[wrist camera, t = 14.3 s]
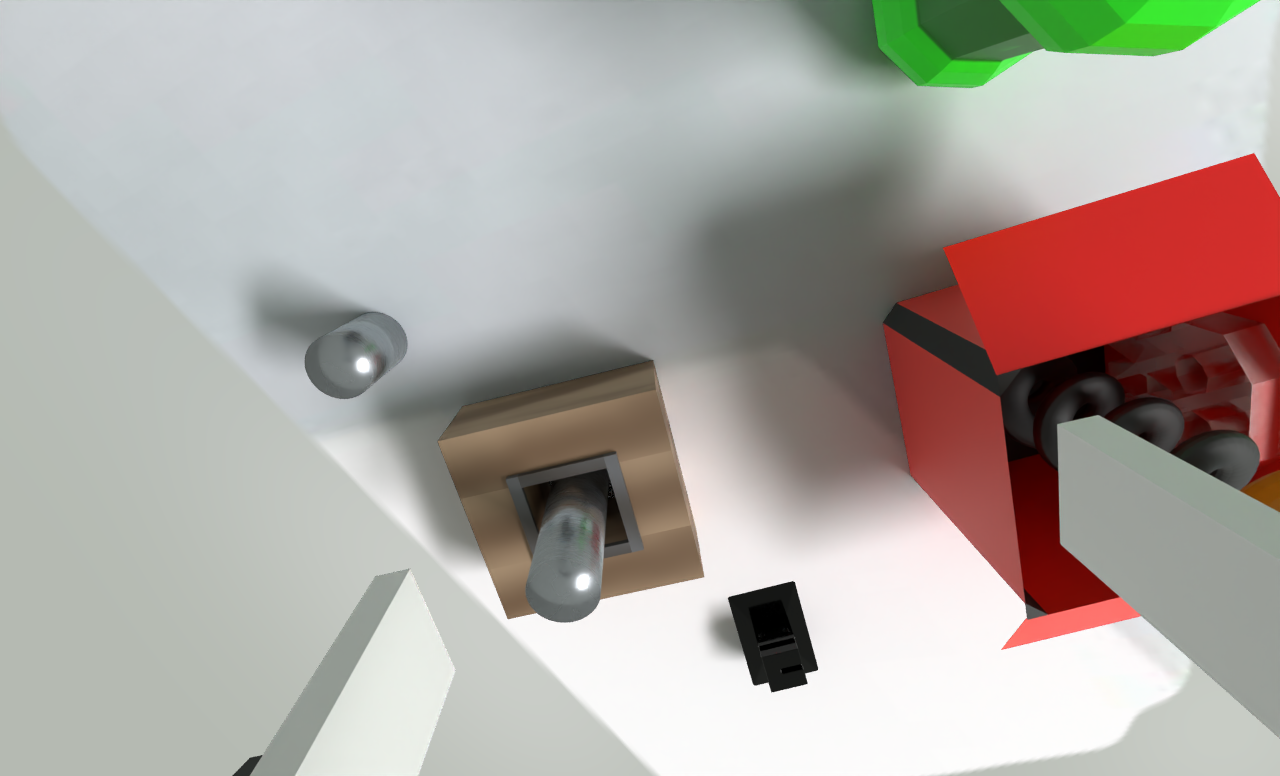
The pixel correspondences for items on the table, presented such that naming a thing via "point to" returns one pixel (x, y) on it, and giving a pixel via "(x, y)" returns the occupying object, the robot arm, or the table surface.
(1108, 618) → the jack-in-the-box
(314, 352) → the short pin
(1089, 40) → the plastic bottle
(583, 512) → the long pin
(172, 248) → the table surface
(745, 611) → the black notched mounting plate
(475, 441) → the hole block
